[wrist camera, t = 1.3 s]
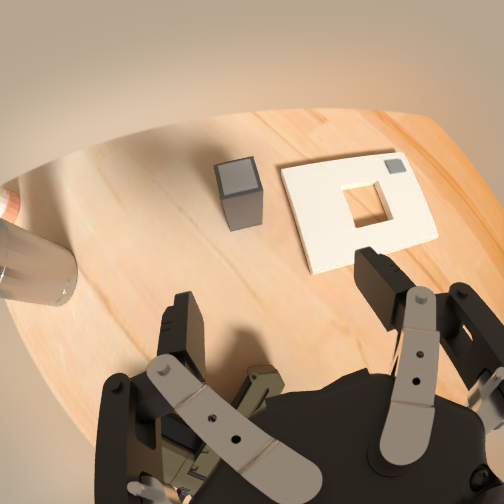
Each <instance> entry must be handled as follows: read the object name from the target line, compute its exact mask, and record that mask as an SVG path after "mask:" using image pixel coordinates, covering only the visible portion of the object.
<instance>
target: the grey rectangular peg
mask: <svg viewBox="0 0 504 504" xmlns="http://www.w3.org/2000/svg"><path fill="white" fill-rule="evenodd" d="M214 170H215V174H216V179H217V184H218V188H219V193H220V198H221V202H222V205H223V208H224V211H225V214H226V218H227V221H228V224H229V227H230V230H231V231H235V230H240V229H244V228H248V227H252V226H257V225H261V224H262V213H263V188H262V184H261V181H260V178H259V174H258V171H257V167H256V164H255V161H254V157H253V156H252V157H247V158H242V159H238V160H233V161H229V162H224V163H220V164H216V165H214Z"/></svg>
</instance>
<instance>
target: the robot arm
mask: <svg viewBox="0 0 504 504" xmlns="http://www.w3.org/2000/svg"><path fill="white" fill-rule="evenodd" d="M354 280H355V283H356V286H357V287H358V289H359V290H360V292H361V293H362V295H363V296H364V297H365V299H366V300H367V302H368V303H369V305H370V306H371V308H372V309H373V311H374V312H375V314H376V315H377V316H378V318H379V319H380V321H381V322H382V324H383V326H384V327H385V329H386V330H387V332H388V331H391V330H393V329H396V330H397V332H398V333H397V336H396V342H395V347H394V353H393V358H392V362H391V367H390V370H389V374H388V375H387V374H379V373H376V374H369V372H368V370H367V368H364V369H361V370H359V371H356V372H353V373H350V374H348V375H345V376H342V377H341V378H339V379H338V380H336V381H334V382H333V383H331V384H329V385H328V386H326V387H324V388H322V389H320V390H316V391H301V392H289V393H285V394H281V395H277V396H272V397H268V398H265V403H266V405H265V406H263V407H261V408H259V409H258V410H256V411H255V412H253V413H252V414H251V415H250V416H249V417H248V418H246V417H244V416H243V415H242V414H240V413H239V412H238V411H237V410H236V409H234V408H233V407H232V406H231V405H230V404H228V403H227V402H226V401H225V400H224V399H222V398H221V397H220V396H219V395H218V394H217V393H216V392H214V391H213V390H212V389H211V388H210V387H209V386H207V385H206V384H204V385H203V384H202V383H201V382H206V375H205V345H204V322H203V318H202V315H201V312H200V310H199V308H198V305H197V303H196V301H195V298H194V296H193V294H192V292H191V291H188V292H183V293H179V294H176V295H175V299H174V306H169V307H167V309H166V310H165V312H164V313H163V315H162V321H161V328H160V335H159V342H158V350H157V357H155V358H154V359H153V360H152V361H151V362H150V363H149V365H148V367H147V371H145V372H144V373H141V374H139V375H137V376H134V377H132V378H129V377H128V376H127V375H126V374H123V373H116V374H113V375H112V376H110V377H109V378H108V379H107V380H106V381H105V383H104V385H103V390H102V397H101V404H100V411H99V420H98V429H97V440H96V454H95V479H94V481H95V482H94V484H95V485H94V497H95V504H182V503H181V501H180V500H179V497H178V494H177V492H176V490H175V488H174V487H173V486H171V485H170V484H168V483H166V482H164V473H163V460H162V442H161V417H162V416H165V415H167V414H169V413H172V412H174V411H176V412H177V413H178V414H179V415H180V417H181V418H182V419H183V420H184V421H185V422H186V423H187V424H188V425H189V426H190V427H191V428H192V429H193V430H194V432H195V433H196V434H197V435H198V436H199V437H200V438H201V439H202V440H203V441H204V442H205V443H206V444H207V445H208V446H209V447H211V448H212V449H213V450H214V451H215V452H216V453H217V454H218V455H219V456H220V459H219V460H218V462H217V463H216V465H215V466H214V468H213V469H212V471H211V472H210V474H209V475H208V476H207V478H206V479H205V481H204V482H203V483H202V485H201V486H200V488H199V489H198V490H197V492H196V493H195V494H194V496H193V497H192V499H191V500H190V502H189V504H504V482H502V481H501V480H500V479H499V478H498V477H497V476H496V475H495V474H494V473H493V472H492V471H491V469H490V468H489V466H488V464H487V459H486V452H485V435H486V434H488V433H489V432H490V431H491V430H496V429H499V428H500V427H501V426H503V425H504V325H503V324H502V323H501V322H500V320H499V319H498V318H497V317H496V315H495V314H494V313H493V312H492V311H491V309H490V308H489V307H488V306H487V305H486V303H485V302H484V301H483V300H482V299H481V298H480V296H479V295H478V294H477V293H476V292H475V291H474V290H473V289H472V288H471V287H470V286H469V285H467V284H465V283H461V282H457V283H454V284H452V285H451V286H450V289H449V292H448V293H440V294H434V293H433V291H431V290H430V289H428V288H426V287H422V286H416V285H415V284H414V283H413V282H412V281H411V280H410V279H409V277H408V276H407V275H406V274H405V273H404V272H403V271H402V270H400V268H399V267H398V266H397V265H396V264H395V263H394V262H393V261H392V260H391V259H390V258H389V257H387V256H385V255H383V254H381V253H380V254H377V253H376V252H375V251H374V249H373V248H372V247H370V246H368V247H365V248H361V249H357V250H355V254H354ZM76 281H77V266H76V262H75V259H74V257H73V255H72V253H71V252H70V251H69V250H68V249H66V248H64V247H62V246H60V245H58V244H55V243H53V242H51V241H49V240H47V239H44V238H42V237H40V236H38V235H36V234H33V233H31V232H29V231H27V230H25V229H23V228H21V227H19V226H17V225H14V224H12V223H10V222H8V221H6V220H4V219H2V218H0V298H3V299H9V300H15V301H21V302H28V303H35V304H41V305H49V306H60V305H63V304H64V303H66V302H67V301H68V300H69V298H70V297H71V295H72V293H73V291H74V289H75V285H76ZM463 324H464V325H465V327H466V328H467V329H468V331H469V332H470V333H471V335H472V339H473V341H472V340H471V338H470V337H469V335H468V334H467V333H466V331H465V330H464V329H463ZM439 342H440V344H441V345H442V347H443V348H444V350H445V352H446V353H447V355H448V356H449V358H450V360H451V361H452V363H453V365H454V366H455V368H456V370H457V371H458V373H459V375H460V377H461V378H462V380H463V382H464V384H465V385H466V387H467V389H468V391H469V393H468V406H467V407H465V406H462V405H460V404H457V403H455V402H452V401H450V400H448V399H445V398H443V397H440V396H438V395H436V394H435V389H436V381H437V371H438V359H439Z"/></svg>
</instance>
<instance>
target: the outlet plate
mask: <svg viewBox="0 0 504 504" xmlns="http://www.w3.org/2000/svg"><path fill="white" fill-rule="evenodd" d="M281 178H282V181H283V184H284V187H285V190H286V193H287V196H288V199H289V202H290V206H291V209H292V212H293V215H294V219H295V222H296V225H297V228H298V232H299V235H300V239H301V242H302V245H303V249H304V252H305V256H306V259H307V263H308V267H309V270H310V274H311V275H314V274H317V273H321V272H325V271H329V270H332V269H336V268H339V267H343V266H347V265H350V264H354V254H355V250H357V249H361V248H365V247H368V246H370V247H372V248H373V249H374V251H375V252H376V253H377V254H380V253H381V254H383V255H385V254H388V253H392V252H395V251H398V250H401V249H405V248H408V247H411V246H414V245H418V244H421V243H424V242H427V241H430V240H433V239H435V238H437V237H439V235H438V232H437V229H436V227H435V224H434V221H433V218H432V216H431V213H430V210H429V208H428V205H427V203H426V200H425V198H424V196H423V193H422V191H421V189H420V186H419V184H418V182H417V180H416V177H415V175H414V173H413V171H412V169H411V167H410V165H409V163H408V161H407V159H406V157H405V155H404V153H403V152H397V153H387V154H378V155H369V156H361V157H353V158H346V159H339V160H332V161H326V162H319V163H313V164H307V165H302V166H296V167H291V168H285V169H281ZM373 184H374V186H375V188H376V190H377V193H378V195H379V198H380V200H381V203H382V205H383V208H384V211H385V213H386V216H387V219H388V221H384V222H380V223H376V224H372V225H368V226H364V227H360V228H356V227H355V224H354V221H353V218H352V215H351V213H350V210H349V207H348V204H347V202H346V199H345V196H344V194H343V191H342V190H345V189H351V188H356V187H362V186H368V185H373Z"/></svg>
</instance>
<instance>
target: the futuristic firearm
mask: <svg viewBox="0 0 504 504" xmlns="http://www.w3.org/2000/svg"><path fill="white" fill-rule="evenodd" d="M247 373H248V376H247V378H246V380H245V382H244V383H243V385H242V387H241V389H240V390H239V392H238V394H237V395H236V397H235V399H234V401H233V402H232V404H231V406H232V407H233V408H234V409H236V410H237V411H238V412H239V413H240V414H242V415H243V416H244V417H246V418H248V417H249V416H250V415H251V414H252V413H253V412H255V411H256V410H258V409H259V408H261V407H263V406H265V405H266V403H265V398H268V397H272V396H277V395H280V393H281V392H282V390H283V388H284V386H285V384H284V382H283V380H282V378H281V376H280V374H279V372H278V370H277V369H275V368H274V367H273V366H272V365H267V366H257V367H249V368H248V370H247ZM161 442H162V460H163V473H164V482H166V483H168V484H170V485H171V486H173V487H176V488H178V489H177V490H176V492H177V494H178V497H179V500H180V501H181V503H183V501H184V499H185V497H186V496H187V495H188V494H189V495H191V497H193V496H194V494H195V493H196V492H197V490H198V489H199V488H200V486H201V485H202V483H203V482H204V481H205V479H206V478H207V476H208V475H209V474H210V472H211V471H212V469H213V468H214V466H215V465H216V463H217V462H218V460H219V459H220V456H219V455H218V454H217V453H216V452H215V451H214V450H213V449H212V448H211V447H209V446H208V445H207V444H206V443H205V442H204V441H203V440H202V439H201V438H200V437H199V436H198V435H197V434H196V433H195V432H194V430H193V429H192V428H191V427H190V426H189V425H188V424H187V423H186V422H185V421H184V420H183V419H182V418H181V417H180V416H178V415H176V414H174V413H169V414H167V415H165V416H162V417H161Z"/></svg>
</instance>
